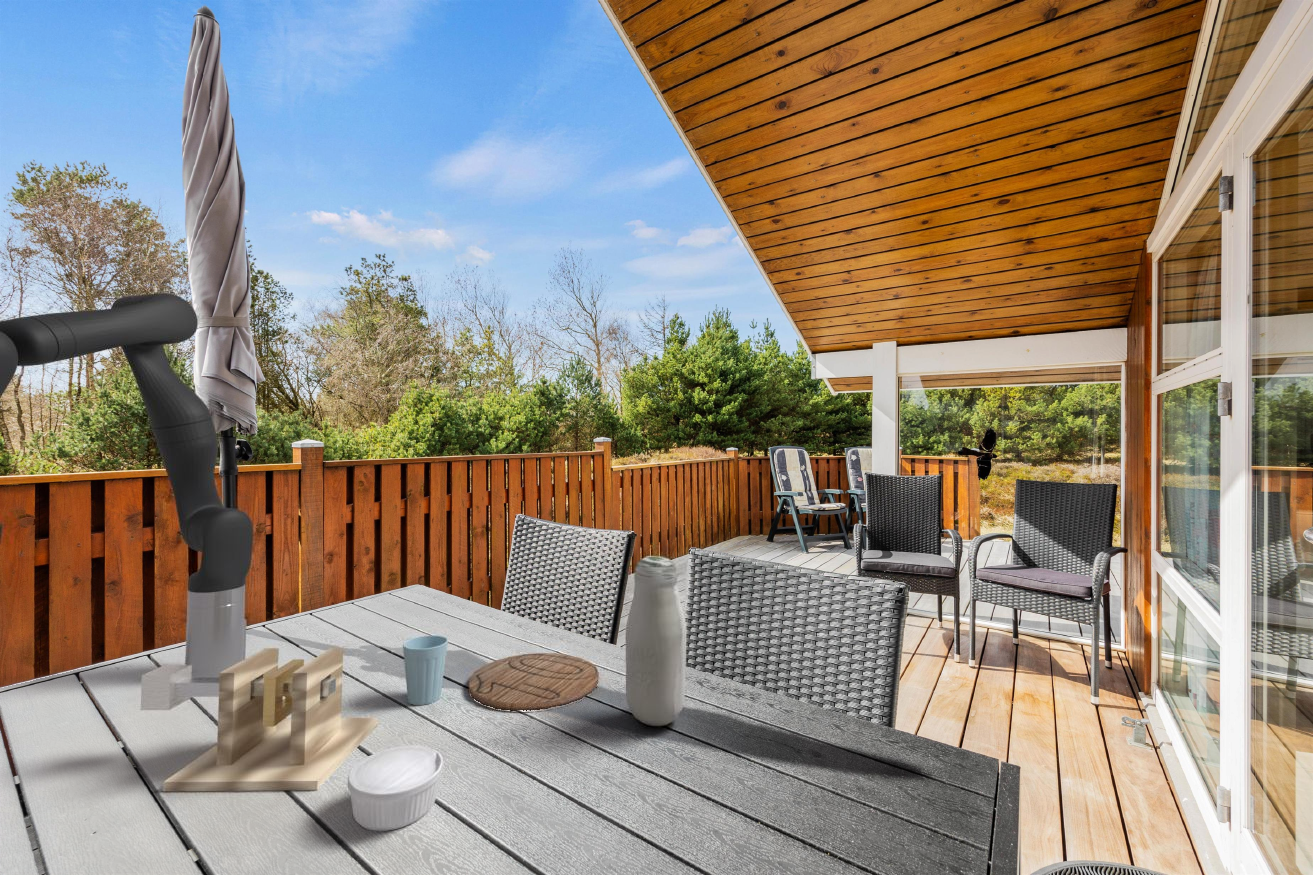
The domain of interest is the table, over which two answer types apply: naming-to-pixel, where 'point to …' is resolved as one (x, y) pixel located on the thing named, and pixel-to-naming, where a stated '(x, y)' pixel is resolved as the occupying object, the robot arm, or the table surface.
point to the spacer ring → (278, 693)
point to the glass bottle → (655, 644)
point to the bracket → (276, 732)
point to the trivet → (533, 681)
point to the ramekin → (395, 786)
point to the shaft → (198, 687)
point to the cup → (424, 668)
